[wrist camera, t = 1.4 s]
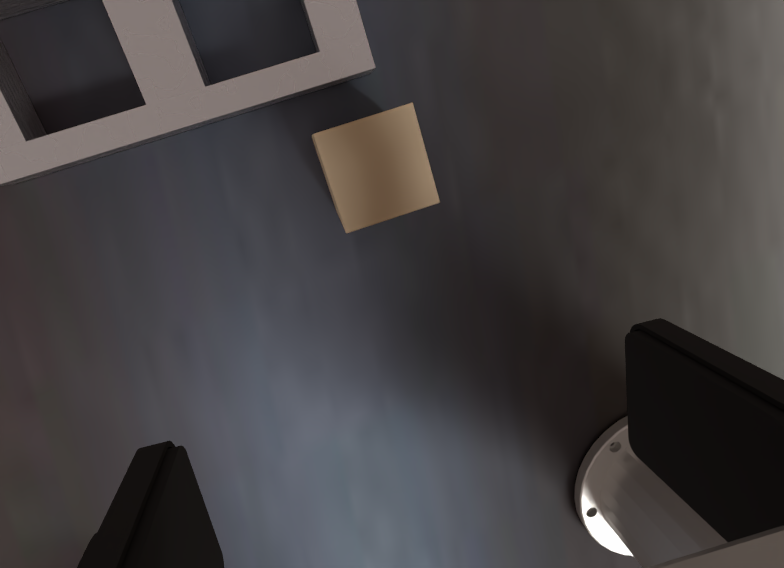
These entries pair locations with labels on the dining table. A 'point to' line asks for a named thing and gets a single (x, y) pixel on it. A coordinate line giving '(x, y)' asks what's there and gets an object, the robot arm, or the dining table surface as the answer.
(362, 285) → the dining table surface
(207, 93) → the rail
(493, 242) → the dining table surface
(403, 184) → the beech block
